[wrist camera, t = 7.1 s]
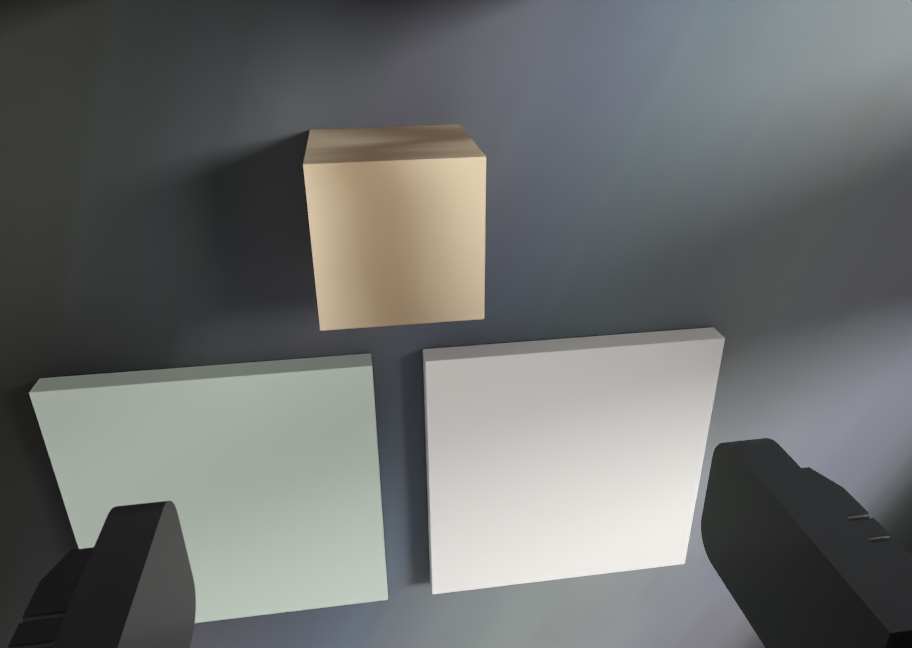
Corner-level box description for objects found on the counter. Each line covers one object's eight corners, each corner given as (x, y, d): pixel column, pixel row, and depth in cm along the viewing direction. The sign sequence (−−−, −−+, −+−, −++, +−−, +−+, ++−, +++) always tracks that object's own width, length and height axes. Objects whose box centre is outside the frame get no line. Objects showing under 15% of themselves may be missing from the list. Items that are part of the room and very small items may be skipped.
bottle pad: (371, 353, 27) (372, 365, 26) (386, 582, 32) (388, 599, 32) (39, 378, 26) (28, 392, 25) (112, 615, 31) (105, 633, 30)
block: (459, 123, 24) (486, 156, 20) (460, 261, 26) (484, 319, 22) (310, 129, 23) (302, 164, 19) (323, 269, 26) (320, 330, 21)
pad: (713, 327, 29) (725, 338, 28) (675, 548, 34) (684, 563, 33) (422, 349, 27) (425, 361, 27) (430, 577, 33) (432, 594, 32)
